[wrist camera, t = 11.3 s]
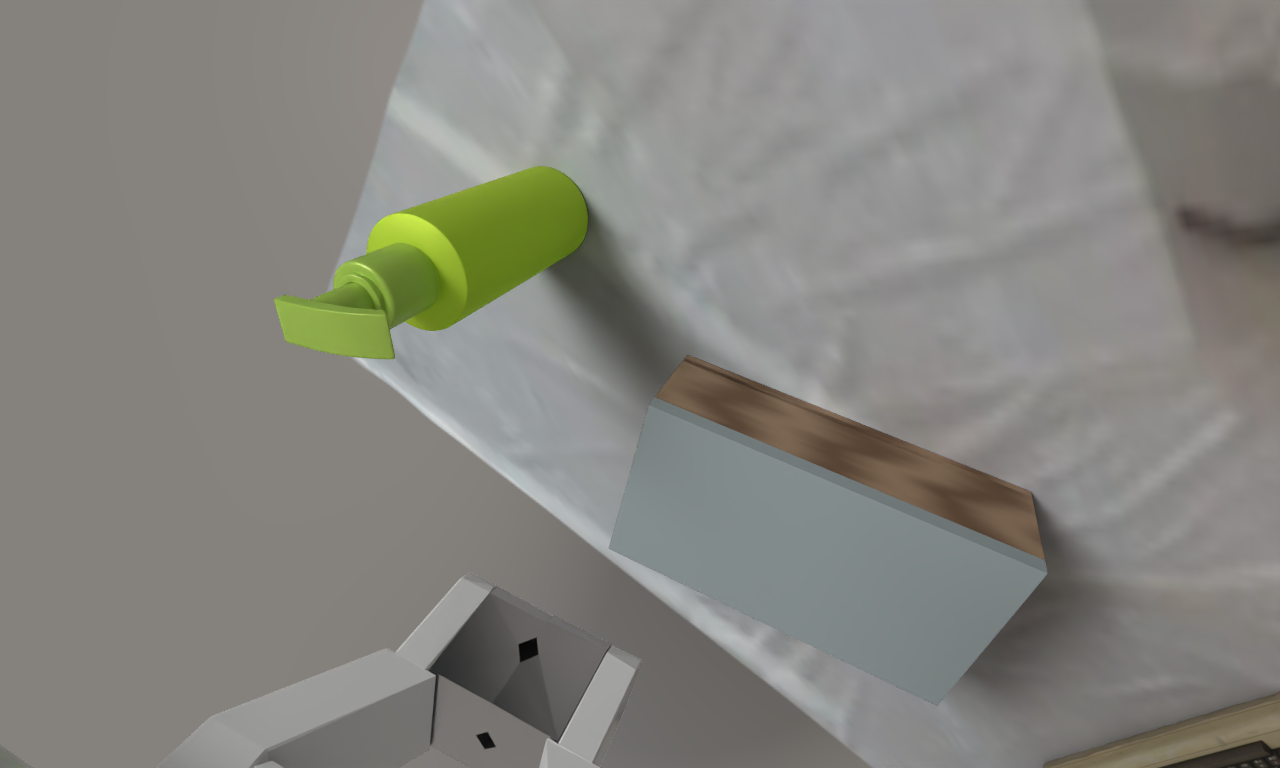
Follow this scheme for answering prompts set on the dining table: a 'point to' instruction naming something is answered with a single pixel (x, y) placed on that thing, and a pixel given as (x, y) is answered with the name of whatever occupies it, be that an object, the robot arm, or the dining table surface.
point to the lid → (817, 553)
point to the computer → (1196, 742)
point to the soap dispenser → (441, 263)
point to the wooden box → (858, 453)
